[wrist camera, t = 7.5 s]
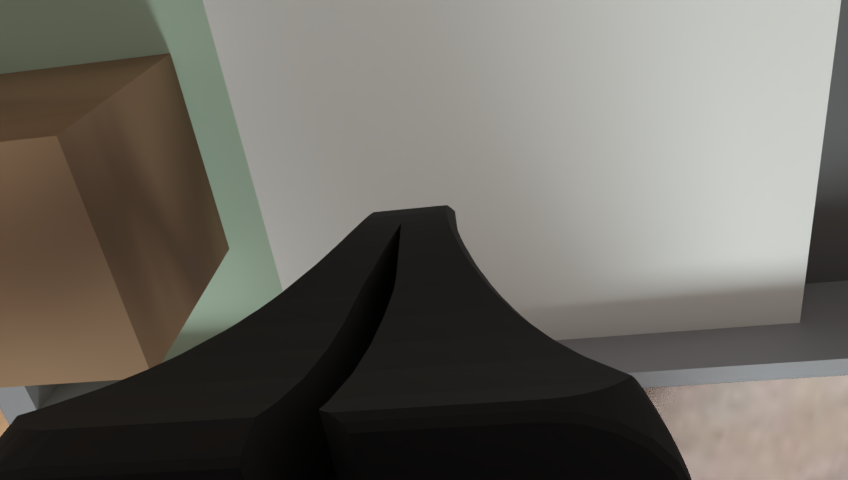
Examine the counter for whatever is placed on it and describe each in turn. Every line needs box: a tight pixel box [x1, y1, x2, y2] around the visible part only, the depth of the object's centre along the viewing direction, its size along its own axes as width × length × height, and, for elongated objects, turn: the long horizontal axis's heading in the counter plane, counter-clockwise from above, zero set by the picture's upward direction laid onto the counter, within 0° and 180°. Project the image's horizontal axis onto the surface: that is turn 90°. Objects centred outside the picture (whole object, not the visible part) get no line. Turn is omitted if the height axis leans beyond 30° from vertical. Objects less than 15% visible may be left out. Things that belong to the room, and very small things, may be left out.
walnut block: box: [0, 53, 229, 388], centre depth 15 cm, size 5×5×5 cm
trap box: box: [0, 0, 848, 425], centre depth 16 cm, size 13×34×4 cm, turn 98°
